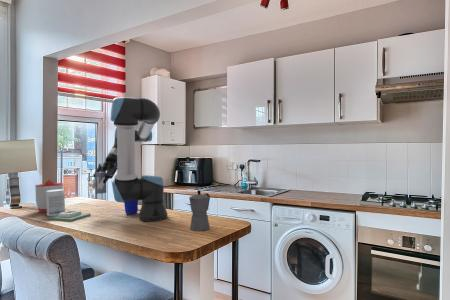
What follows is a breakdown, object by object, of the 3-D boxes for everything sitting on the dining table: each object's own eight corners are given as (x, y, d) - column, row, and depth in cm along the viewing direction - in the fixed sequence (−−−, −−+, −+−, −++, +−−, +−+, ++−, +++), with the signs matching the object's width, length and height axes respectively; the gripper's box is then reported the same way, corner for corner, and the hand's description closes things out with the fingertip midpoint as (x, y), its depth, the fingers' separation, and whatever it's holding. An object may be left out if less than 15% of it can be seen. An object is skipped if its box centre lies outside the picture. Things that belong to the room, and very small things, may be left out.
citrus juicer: (62, 207, 205) (61, 177, 204) (65, 211, 190) (64, 179, 190) (35, 210, 196) (34, 179, 196) (36, 214, 181) (35, 181, 181)
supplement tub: (68, 213, 182) (68, 189, 182) (54, 217, 173) (53, 191, 173) (57, 212, 186) (56, 188, 186) (42, 216, 177) (42, 191, 177)
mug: (140, 215, 173) (140, 197, 173) (121, 214, 176) (120, 197, 176) (147, 212, 181) (146, 195, 181) (128, 211, 184) (128, 195, 184)
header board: (90, 215, 175) (90, 210, 175) (71, 221, 162) (71, 215, 162) (69, 214, 180) (69, 209, 180) (48, 219, 167) (48, 214, 167)
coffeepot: (200, 233, 133) (199, 192, 133) (183, 231, 137) (182, 191, 137) (218, 225, 146) (217, 188, 146) (201, 223, 151) (200, 187, 151)
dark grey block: (106, 192, 175) (105, 171, 175) (101, 193, 171) (100, 172, 171) (100, 192, 176) (100, 171, 176) (95, 193, 172) (94, 172, 172)
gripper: (128, 161, 186) (112, 191, 170) (105, 161, 191) (87, 191, 175) (123, 152, 181) (106, 183, 165) (99, 153, 186) (80, 183, 170)
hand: (96, 187), depth 170 cm, fingers closed on dark grey block, 4 cm apart
